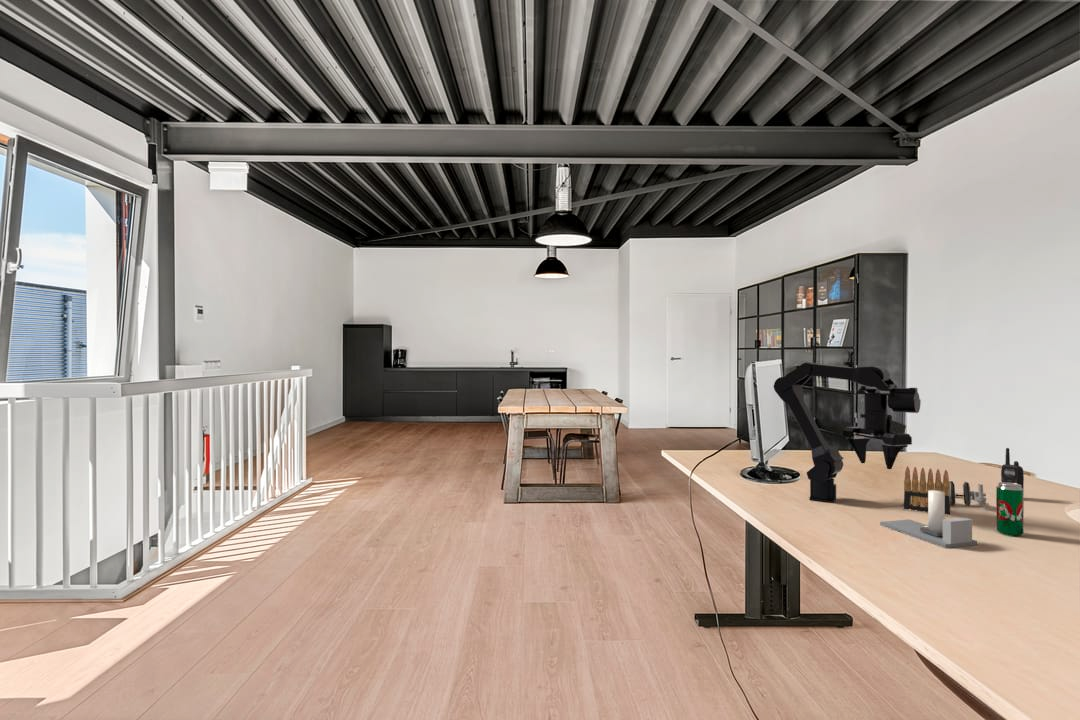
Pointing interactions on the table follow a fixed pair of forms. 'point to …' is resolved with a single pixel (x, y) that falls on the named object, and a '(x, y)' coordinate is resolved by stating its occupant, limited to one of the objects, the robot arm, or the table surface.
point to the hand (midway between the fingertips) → (875, 466)
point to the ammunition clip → (924, 489)
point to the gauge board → (953, 536)
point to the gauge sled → (935, 513)
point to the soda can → (1010, 509)
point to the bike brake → (967, 494)
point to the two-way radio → (1012, 471)
